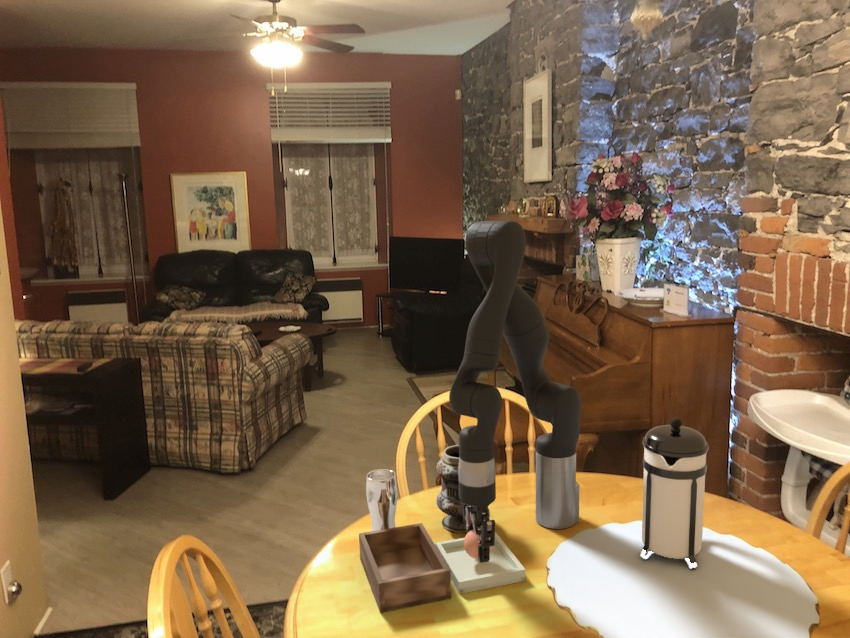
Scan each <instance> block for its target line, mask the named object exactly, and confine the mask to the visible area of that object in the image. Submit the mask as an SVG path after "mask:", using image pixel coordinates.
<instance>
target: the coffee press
mask: <svg viewBox="0 0 850 638" xmlns="http://www.w3.org/2000/svg"><path fill="white" fill-rule="evenodd" d="M642 446H643V448H644V451H643V452H644V453H643V455H642V467H643V479H642V481H643V482H642V483H643V484H642V485H643V486H642V515H641V516H642V520H641V522H642V523H641V540H642V543H643V547H642V549H644V550H646V552H648V551H649V550H650V551H652V552H654V554H655V553H656V554H655V555H657V554H658V555H657V556H659V555H661V556H660V557H662V556H664V557H663V558H666V557H668V558H667V559H672V558H673V560H684V559H685V558H689V559H690V562H691V563H694V562H697V559H696V556H697V554H699V552H701V549H702V545H703V533H704V532H703V528H704V527H703V526H704V510H705V509H704V508H705V489H706V487H705V485H706V474H707V472H708V471H707V470H708V469H707V468H708V461H707V453H708V451H709V449H710V447H709V443H708V442H707V441H706V438H705V435H703V434H702V433H701V432H700V431H699V430H696V429H694V428H692V427H689V426H685V425H684V426H683V422H682V420H681V419H680V418H678V417H673V418H672V419H671V420H670V421H669V424H663V425H657V426H655V427H652V428H650V429H649V430H648V431H647V432H646V433H645V436H643V438H642Z"/></svg>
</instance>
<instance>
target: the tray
mask: <svg viewBox="0 0 850 638" xmlns="http://www.w3.org/2000/svg"><path fill="white" fill-rule="evenodd" d="M464 539H465V537H462V538H455V539H454V538H453V539H449V540H444V541H438V542H435V543H434V544H435V546H436V547H437V549H438V551H439V552H440V554H441V556H442V557H443V559H444V561H445V562H446V564H447V566H448V567H449V569H450V578H451V583H452V584H453V586H454V588H455V589H456V591H457V593H458V594H466V593H471V592H476V591H481V590H486V589H490V588H496V587H501V586H505V585H506V586H507V585H511V584H515V583H521V582H526V568H525V567H524V566H523V564H522V563H521V562H520V560H519V559H518V558H517V557H516V556H515V554H514V553H513V552H512V551H511V550H510V547H508V546H507V545H506V543H505V542H504V541H503V539H502V537H500V535H499V534H498V533H497V532H496V531H495V541H494V546H493V547H492V550H491V552H490V560H489V561H488V562H483V563H481V562H480V561H479V560H478V559H475V558H472V557H471V556H469V555H468V554H467V552H466V551H465V548H464Z"/></svg>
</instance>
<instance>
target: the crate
mask: <svg viewBox="0 0 850 638" xmlns="http://www.w3.org/2000/svg"><path fill="white" fill-rule="evenodd" d="M358 539H359V540H358V541H359V560H360V562H361V565H362V568H363V570H364V574H365V576H366V579H367V581H368V584H369V587H370V589H371V592H372V594H373V597H374V600H375V603H376V606H377V608H378V612H379V613H381V614H382V613H386V612H392V611H395V610H401V609H405V608H407V609H408V608H411V607H416V606H421V605H422V606H423V605H426V604H431V603H437V602H443V601H445V600H451V599H452V587H451V586H452V584H451V583H452V581H451V578H450V569H449V567H448V566H447V564H446V562H445V561H444V559H443V557H442V556H441V554H440V552H439V551H438V549H437V547H436V546H435V543H434V540H433V538H432V537H431V535H430V533H429V532H428V530H427V529H426V527H425V525H424V523H423V522H420V523H413V524H408V525H403V526H396V527H395V528H389V529H383V530H377V531H371V530H370V531H367V532H365V531H364V532H359V533H358Z"/></svg>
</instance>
